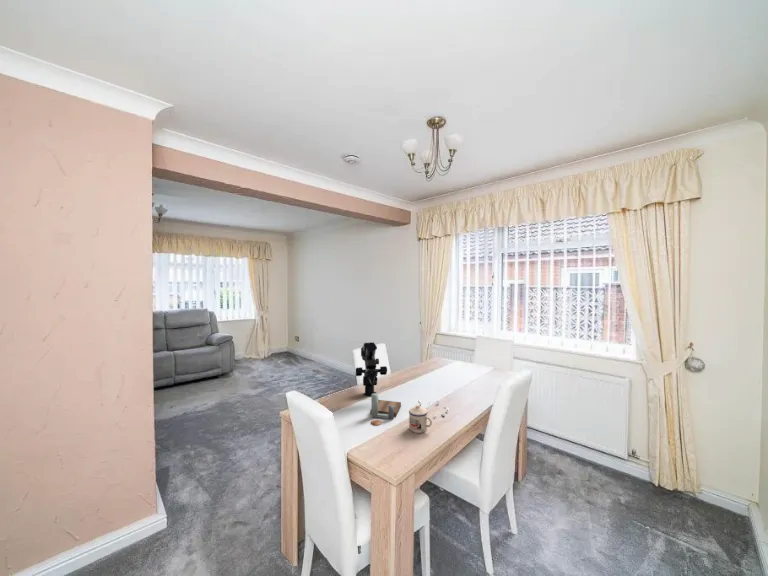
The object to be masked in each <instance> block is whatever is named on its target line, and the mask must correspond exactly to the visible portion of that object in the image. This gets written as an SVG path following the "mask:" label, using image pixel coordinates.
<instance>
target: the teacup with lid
mask: <svg viewBox="0 0 768 576" xmlns="http://www.w3.org/2000/svg"><path fill="white" fill-rule="evenodd" d="M408 413H409V414H408V415H409V417H408V423H409V425H408V427H409V430H410V431H411V432H413V433H416V434H423V433H425V432H427V430H428V428H430V427H431V426H432V425H433V420H432V418H431V417H429V416H428V410H427V409H426V408H425V407H422V406H421V405H420V404H418V405H415V406H413V407H410V408H409V409H408ZM428 421H429V424H428Z"/></svg>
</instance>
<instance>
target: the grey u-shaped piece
mask: <svg viewBox="0 0 768 576" xmlns="http://www.w3.org/2000/svg"><path fill="white" fill-rule="evenodd" d="M370 397H371V398H370V400H371V402H370V404H371V409H370V415H371V414H372V415H371V417H372V418H383V419H384V418H385V419H389V420H393V419H394V418H395V417H394V406H392V405H390V406H389V415H388V414H380V413H378V400H379V394H378V393H377V392H376V393H373V394H371V396H370Z"/></svg>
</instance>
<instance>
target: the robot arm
mask: <svg viewBox="0 0 768 576" xmlns="http://www.w3.org/2000/svg"><path fill="white" fill-rule="evenodd" d="M377 350H378V347H377V345H376V343H375V342H374V341H373V342H364V343H363V346H362V347H361V348H360V357H361V359H362V361H364V366H365V367H364V368H365V369H363V367H362V366H361V367H356V368H355V376H356V377H361V376H362V375H363V377H362V385H363V387H364V392H363V396H368V397H371V394H373V393H376V394H377V391H375V386H377V385H378V375H379V374H380V375H381V376H384V375H385V376H386V375H387V374H388V367H387V366H379V368H377V365H379V364H380V360H379V358H376V351H377Z"/></svg>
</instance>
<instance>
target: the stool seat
mask: <svg viewBox="0 0 768 576" xmlns="http://www.w3.org/2000/svg"><path fill="white" fill-rule="evenodd" d="M390 405H392V406H394V418H396V417H397V416H398V414H399V412H400V410H401V407H402V403H401V401H393V400H382V399H378V413H380V414H388V415H389V406H390ZM370 416H372V414H371V413H370ZM382 423H383V422H382V420H380V419H373V420H371V422H370V425H372V426H381V425H382Z"/></svg>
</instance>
